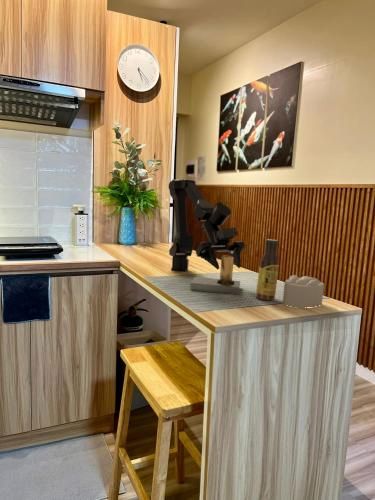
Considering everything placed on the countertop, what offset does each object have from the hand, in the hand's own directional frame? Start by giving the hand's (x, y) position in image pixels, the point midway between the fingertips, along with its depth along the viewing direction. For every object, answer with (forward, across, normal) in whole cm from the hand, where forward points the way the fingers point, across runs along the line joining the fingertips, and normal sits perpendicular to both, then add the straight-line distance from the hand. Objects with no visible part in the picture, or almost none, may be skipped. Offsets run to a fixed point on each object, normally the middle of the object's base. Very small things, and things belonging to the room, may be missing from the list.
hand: (229, 268), depth 131 cm
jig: (+3, -3, +8) cm, 9 cm away
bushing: (+5, 0, +7) cm, 8 cm away
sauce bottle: (+15, +6, -3) cm, 17 cm away
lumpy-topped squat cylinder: (+21, +14, -9) cm, 27 cm away
